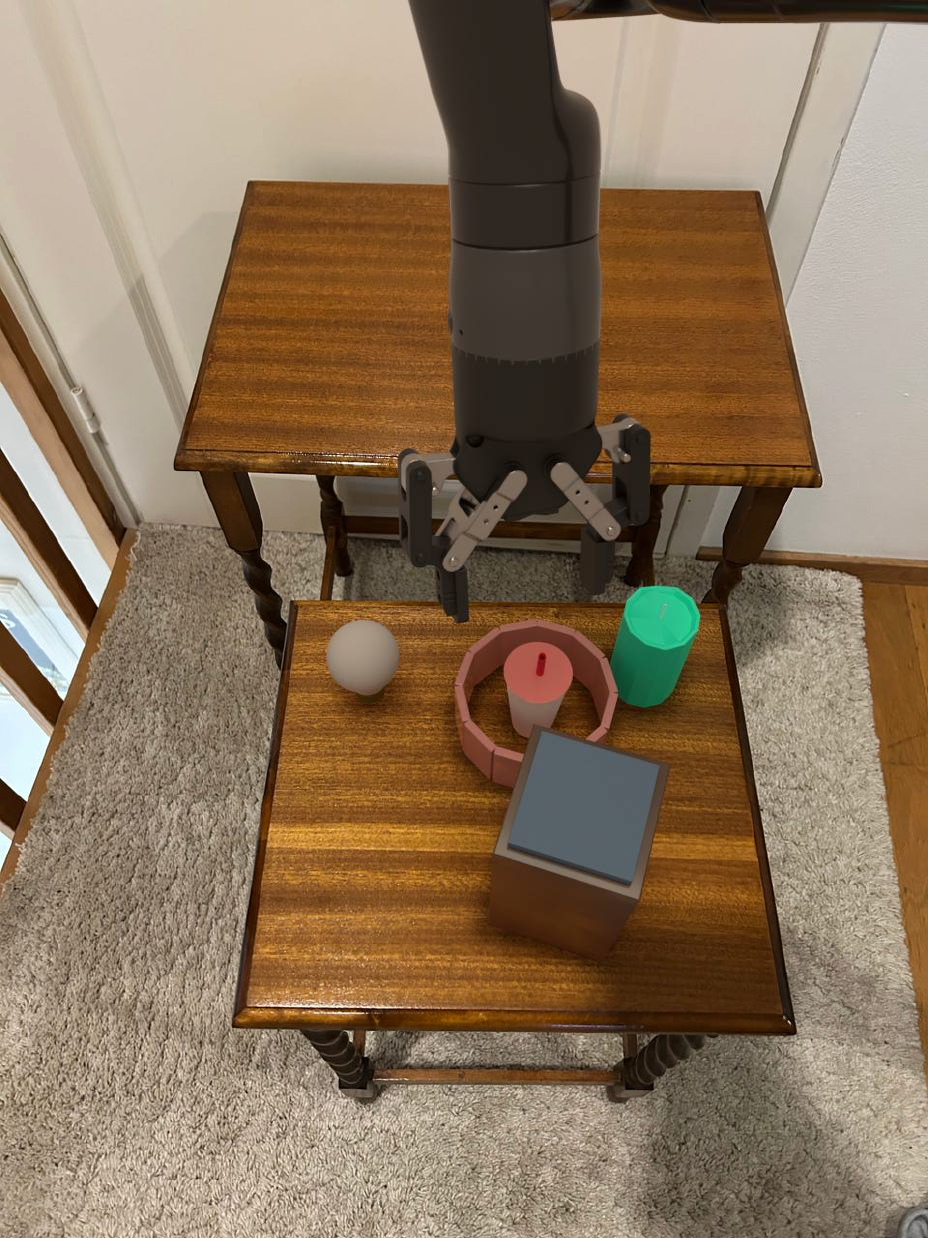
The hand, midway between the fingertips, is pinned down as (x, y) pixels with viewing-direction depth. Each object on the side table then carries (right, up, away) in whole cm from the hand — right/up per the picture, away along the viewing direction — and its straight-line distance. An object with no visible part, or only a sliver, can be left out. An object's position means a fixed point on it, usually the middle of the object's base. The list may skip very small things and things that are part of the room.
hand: (526, 602), depth 56 cm
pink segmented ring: (+2, -10, +24) cm, 26 cm away
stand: (+4, -22, +17) cm, 28 cm away
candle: (+12, -6, +27) cm, 30 cm away
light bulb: (-12, -8, +26) cm, 30 cm away
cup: (+2, -10, +25) cm, 27 cm away
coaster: (+4, -13, +2) cm, 13 cm away
